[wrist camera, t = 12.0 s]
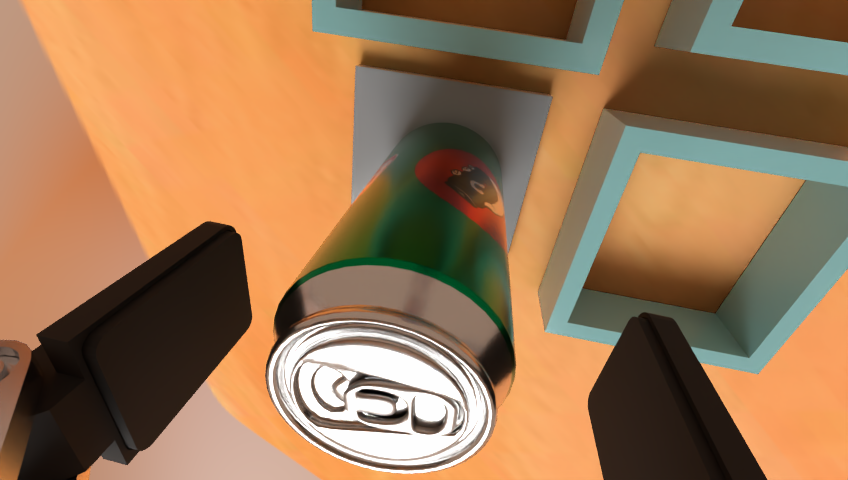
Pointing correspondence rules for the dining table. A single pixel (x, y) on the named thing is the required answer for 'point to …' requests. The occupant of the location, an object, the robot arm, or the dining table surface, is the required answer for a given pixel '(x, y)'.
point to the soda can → (404, 314)
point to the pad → (453, 103)
